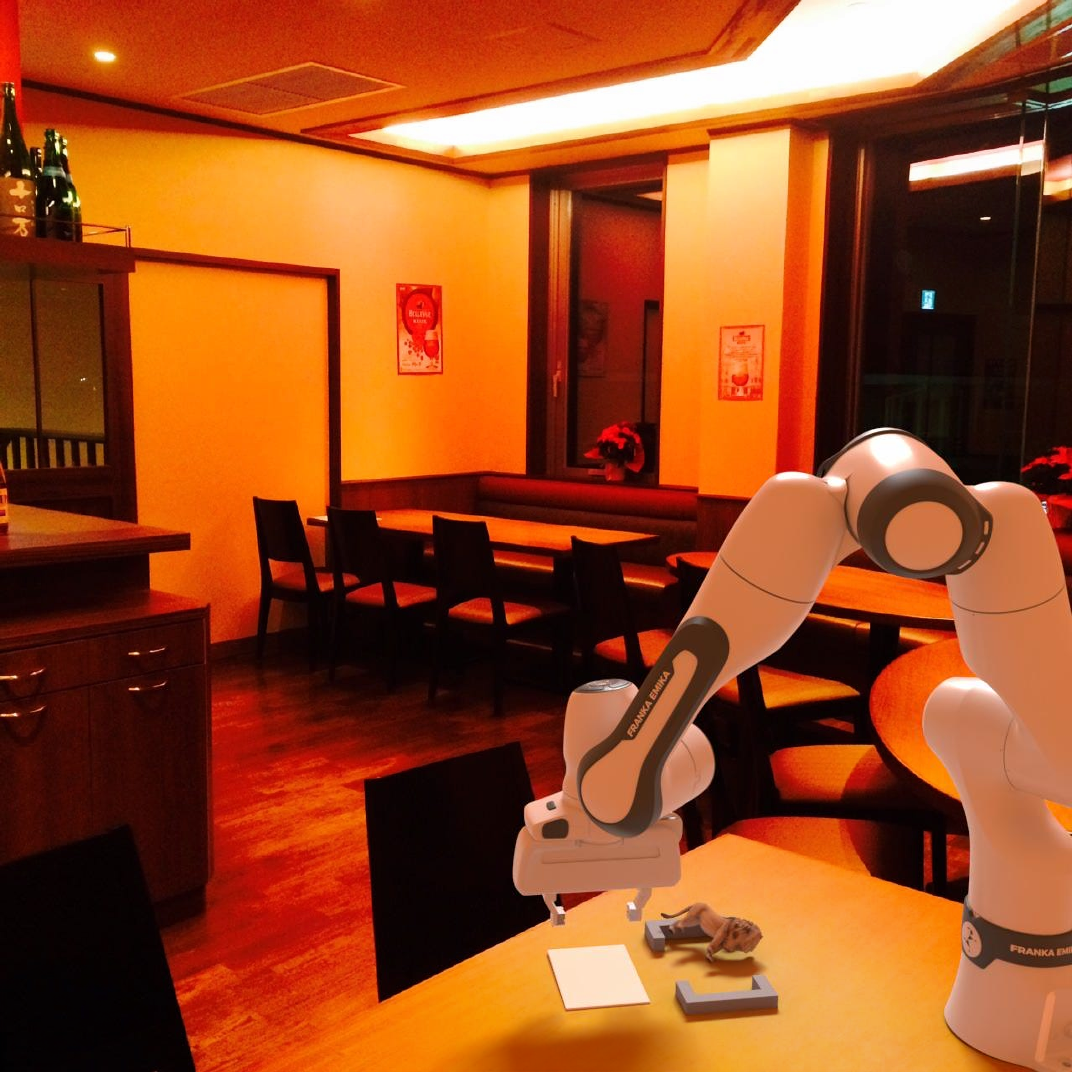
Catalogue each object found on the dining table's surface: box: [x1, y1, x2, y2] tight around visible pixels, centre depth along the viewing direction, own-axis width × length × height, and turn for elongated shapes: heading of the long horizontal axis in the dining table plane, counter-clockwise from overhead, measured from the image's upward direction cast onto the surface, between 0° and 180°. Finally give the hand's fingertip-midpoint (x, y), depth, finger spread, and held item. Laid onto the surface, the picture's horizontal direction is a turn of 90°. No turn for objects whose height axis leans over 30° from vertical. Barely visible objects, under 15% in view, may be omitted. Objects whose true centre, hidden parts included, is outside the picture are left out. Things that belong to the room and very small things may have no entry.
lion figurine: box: [660, 902, 764, 963], centre depth 137 cm, size 12×4×7 cm
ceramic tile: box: [547, 944, 651, 1011], centre depth 131 cm, size 10×13×1 cm
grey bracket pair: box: [644, 915, 779, 1016], centre depth 133 cm, size 11×19×2 cm, turn 9°
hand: (595, 921), depth 129 cm, fingers open, 8 cm apart
